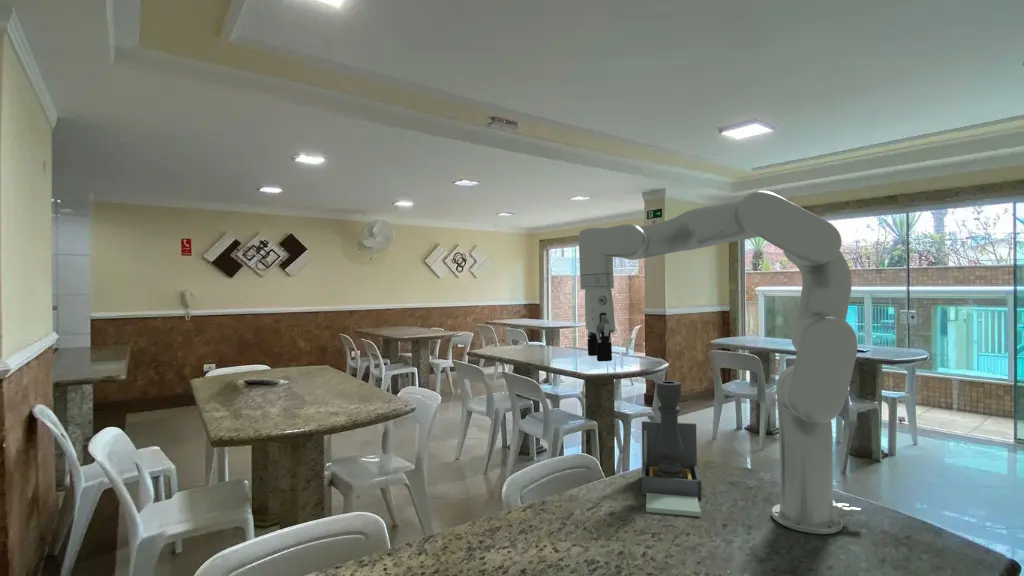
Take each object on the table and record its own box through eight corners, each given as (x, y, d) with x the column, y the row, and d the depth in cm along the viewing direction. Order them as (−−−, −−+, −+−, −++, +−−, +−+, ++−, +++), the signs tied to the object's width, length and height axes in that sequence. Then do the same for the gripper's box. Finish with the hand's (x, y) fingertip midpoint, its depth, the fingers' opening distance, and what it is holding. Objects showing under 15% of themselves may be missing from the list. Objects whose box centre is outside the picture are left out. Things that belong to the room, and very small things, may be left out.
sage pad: (697, 501, 118) (697, 497, 118) (700, 516, 110) (700, 511, 110) (646, 497, 121) (646, 492, 121) (646, 511, 113) (646, 507, 113)
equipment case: (696, 480, 131) (695, 423, 131) (701, 499, 119) (700, 437, 119) (642, 476, 134) (641, 421, 134) (642, 494, 123) (641, 433, 123)
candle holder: (688, 486, 127) (686, 382, 127) (676, 494, 122) (674, 386, 122) (664, 480, 131) (663, 379, 131) (652, 487, 127) (650, 383, 127)
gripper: (623, 281, 112) (626, 362, 112) (604, 282, 129) (607, 353, 129) (588, 282, 111) (591, 364, 111) (573, 283, 129) (576, 354, 129)
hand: (599, 358), depth 120 cm, fingers open, 9 cm apart
